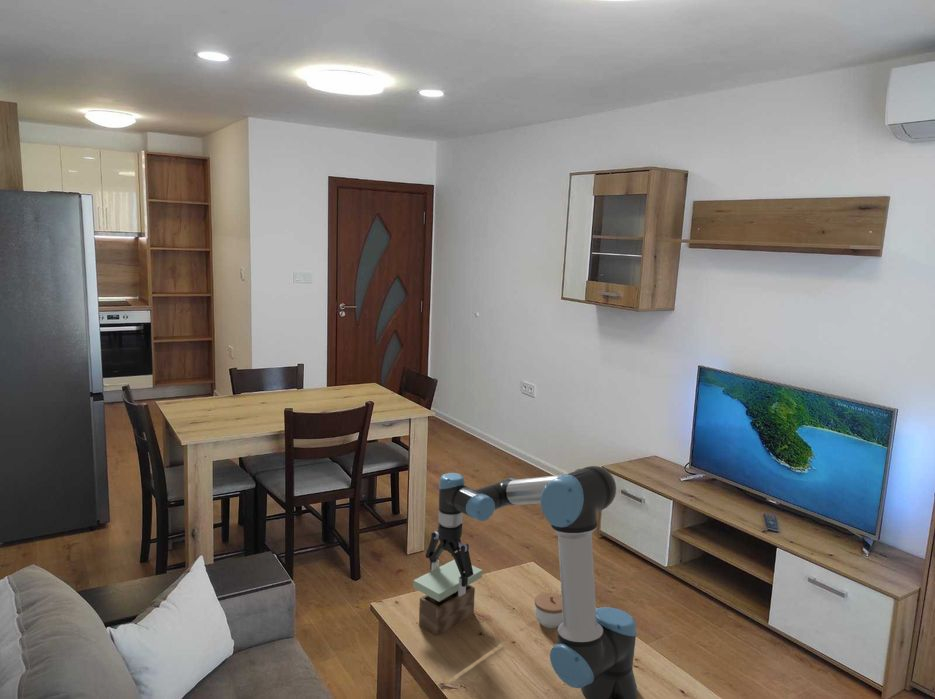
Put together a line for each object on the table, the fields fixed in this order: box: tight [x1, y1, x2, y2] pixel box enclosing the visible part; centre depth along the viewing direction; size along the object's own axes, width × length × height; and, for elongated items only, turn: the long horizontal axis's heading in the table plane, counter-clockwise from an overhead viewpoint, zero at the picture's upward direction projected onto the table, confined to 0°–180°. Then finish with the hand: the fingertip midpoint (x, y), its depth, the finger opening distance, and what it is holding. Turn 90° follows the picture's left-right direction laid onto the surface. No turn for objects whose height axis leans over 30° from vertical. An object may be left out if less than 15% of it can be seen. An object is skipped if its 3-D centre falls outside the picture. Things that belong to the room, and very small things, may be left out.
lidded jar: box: [534, 591, 563, 629], centre depth 215 cm, size 11×11×9 cm
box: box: [418, 584, 476, 637], centre depth 213 cm, size 17×8×10 cm, turn 138°
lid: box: [412, 558, 483, 602], centre depth 212 cm, size 20×11×4 cm, turn 138°
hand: (448, 587), depth 212 cm, fingers closed on lid, 11 cm apart
